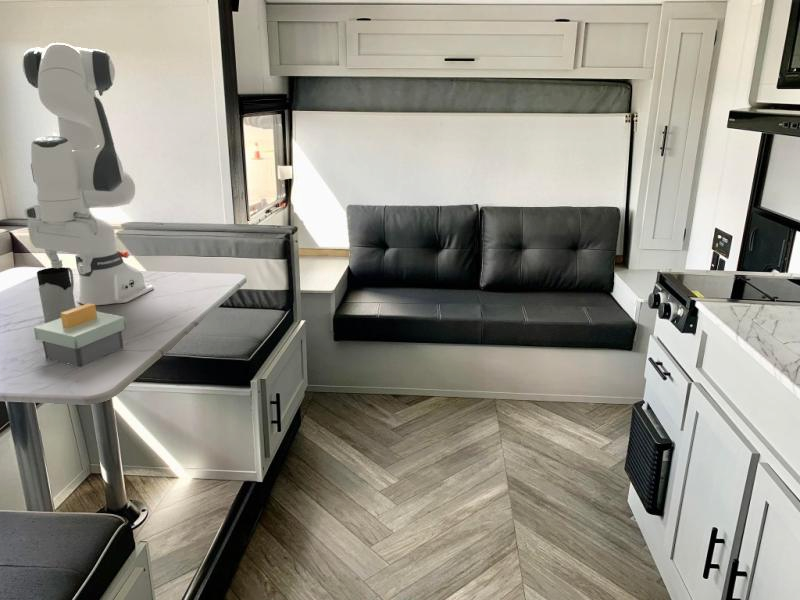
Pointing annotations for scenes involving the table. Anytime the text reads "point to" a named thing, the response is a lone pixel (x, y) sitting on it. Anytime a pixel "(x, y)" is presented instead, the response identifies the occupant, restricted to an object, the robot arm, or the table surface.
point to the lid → (80, 327)
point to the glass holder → (56, 292)
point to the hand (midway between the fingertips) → (71, 269)
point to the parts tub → (84, 350)
